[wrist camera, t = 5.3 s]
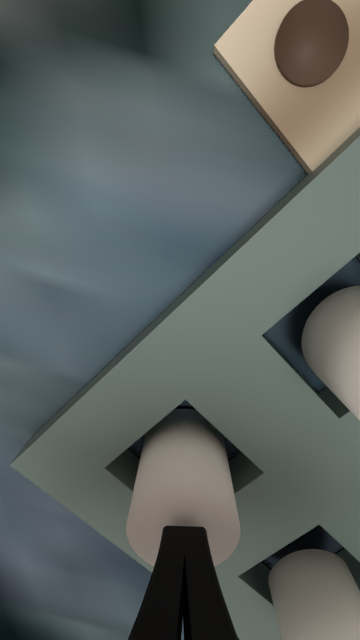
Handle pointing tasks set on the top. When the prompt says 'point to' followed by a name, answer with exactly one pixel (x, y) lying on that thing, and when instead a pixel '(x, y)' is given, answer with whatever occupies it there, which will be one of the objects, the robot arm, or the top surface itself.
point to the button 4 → (336, 345)
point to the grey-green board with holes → (230, 398)
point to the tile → (299, 70)
